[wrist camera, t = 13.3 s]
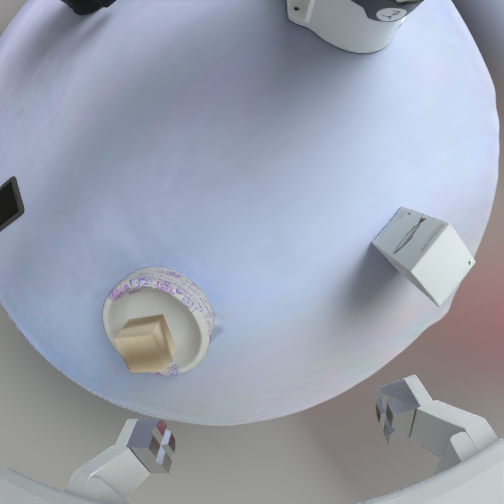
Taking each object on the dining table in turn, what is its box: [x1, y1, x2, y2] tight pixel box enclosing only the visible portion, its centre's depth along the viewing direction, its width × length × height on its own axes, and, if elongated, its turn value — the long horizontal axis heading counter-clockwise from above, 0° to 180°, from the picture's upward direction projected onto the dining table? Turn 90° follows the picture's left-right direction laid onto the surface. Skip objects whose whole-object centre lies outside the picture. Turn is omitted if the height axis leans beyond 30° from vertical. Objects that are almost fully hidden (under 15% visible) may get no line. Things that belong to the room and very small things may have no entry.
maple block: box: [114, 314, 176, 373], centre depth 33 cm, size 5×5×5 cm
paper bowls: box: [102, 267, 214, 376], centre depth 39 cm, size 15×15×8 cm
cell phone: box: [0, 176, 24, 231], centre depth 39 cm, size 7×14×1 cm, turn 109°
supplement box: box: [372, 207, 475, 307], centre depth 33 cm, size 7×7×13 cm
